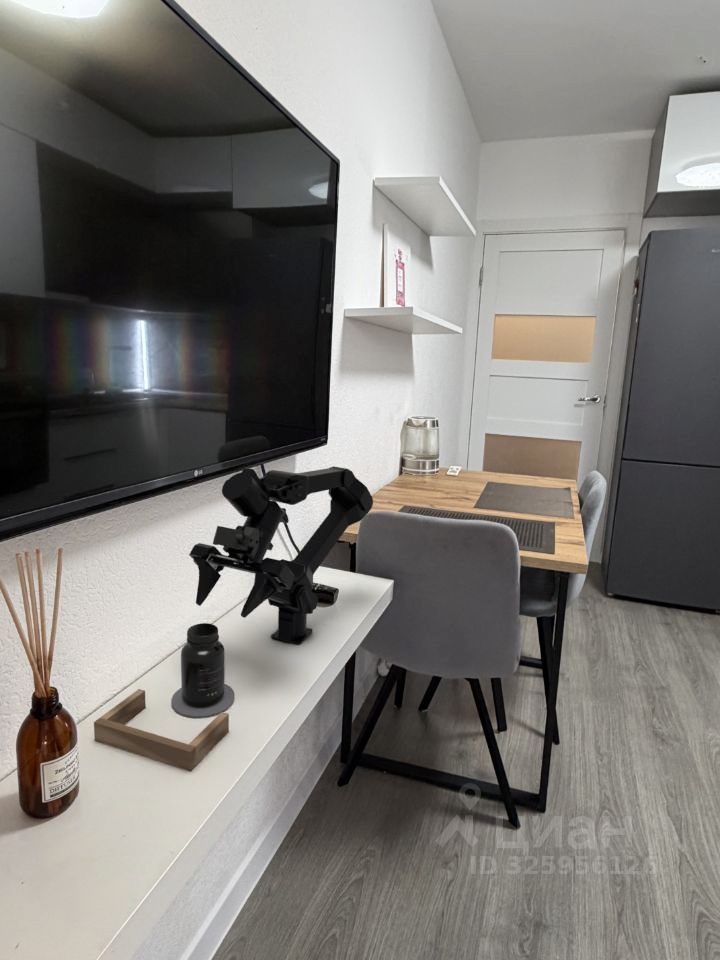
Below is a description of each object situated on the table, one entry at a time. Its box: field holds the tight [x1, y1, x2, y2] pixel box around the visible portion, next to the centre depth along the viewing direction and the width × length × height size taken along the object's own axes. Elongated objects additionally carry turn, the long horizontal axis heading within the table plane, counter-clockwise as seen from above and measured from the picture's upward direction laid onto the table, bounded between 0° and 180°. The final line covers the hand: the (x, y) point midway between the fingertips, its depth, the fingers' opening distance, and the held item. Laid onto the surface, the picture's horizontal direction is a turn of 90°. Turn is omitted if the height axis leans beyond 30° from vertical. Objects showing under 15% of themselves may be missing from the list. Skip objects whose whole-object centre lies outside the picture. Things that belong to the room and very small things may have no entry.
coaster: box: [170, 683, 236, 719], centre depth 97 cm, size 10×10×1 cm
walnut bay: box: [93, 688, 230, 772], centre depth 88 cm, size 10×16×3 cm, turn 70°
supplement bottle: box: [180, 622, 226, 708], centre depth 96 cm, size 7×7×12 cm
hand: (219, 610), depth 99 cm, fingers open, 9 cm apart
